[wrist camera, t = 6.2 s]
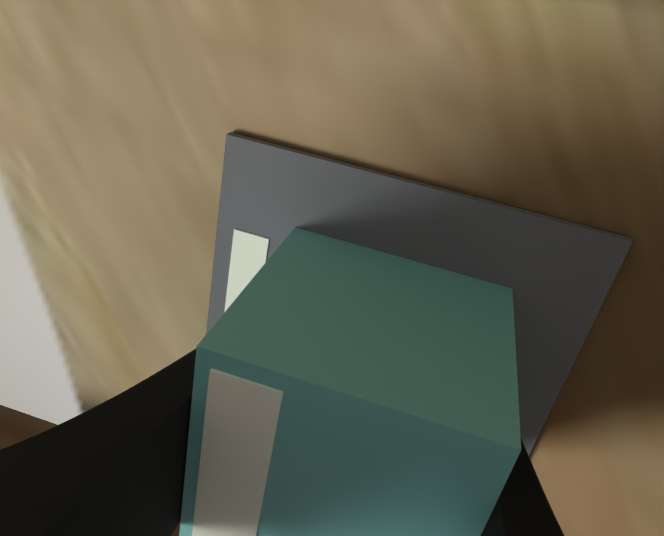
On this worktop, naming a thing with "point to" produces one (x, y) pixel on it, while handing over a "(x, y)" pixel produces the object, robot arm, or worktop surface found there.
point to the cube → (352, 400)
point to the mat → (423, 248)
